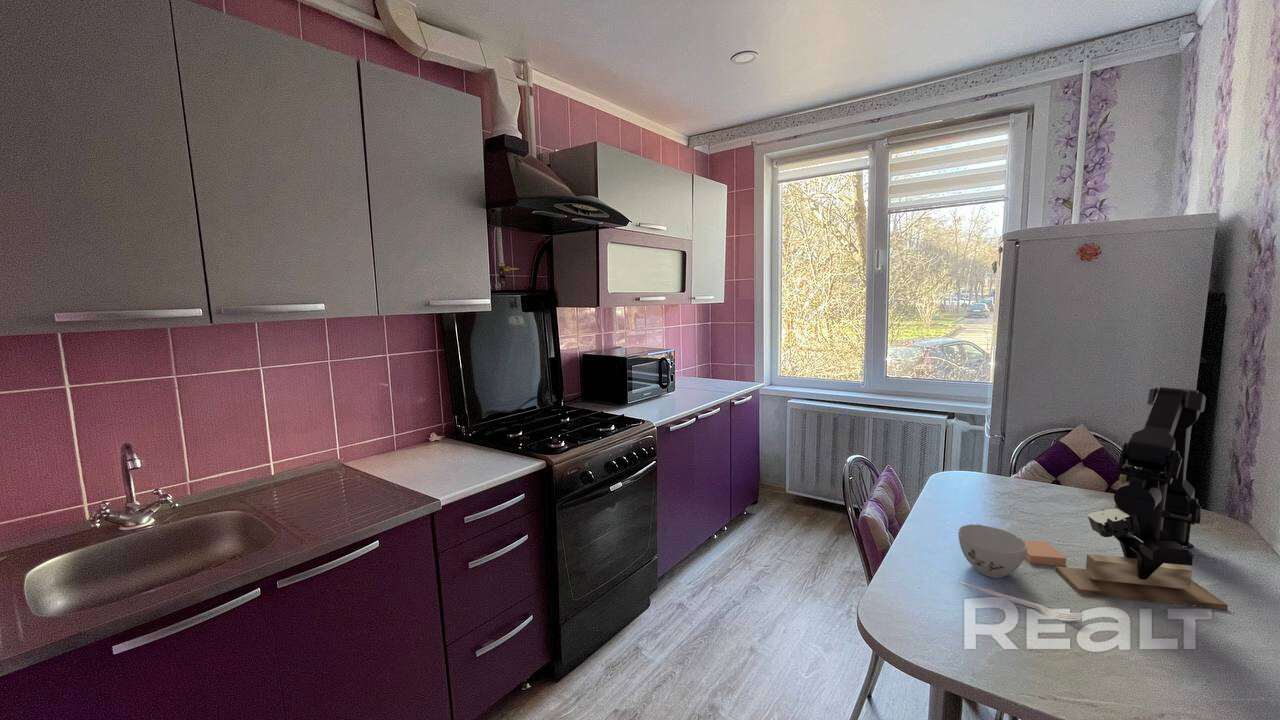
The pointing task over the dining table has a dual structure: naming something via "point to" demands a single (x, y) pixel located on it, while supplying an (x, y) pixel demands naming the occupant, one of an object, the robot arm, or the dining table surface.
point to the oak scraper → (1136, 572)
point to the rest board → (1139, 590)
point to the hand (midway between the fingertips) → (1136, 574)
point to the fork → (1034, 606)
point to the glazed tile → (1043, 554)
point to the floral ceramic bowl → (992, 549)
